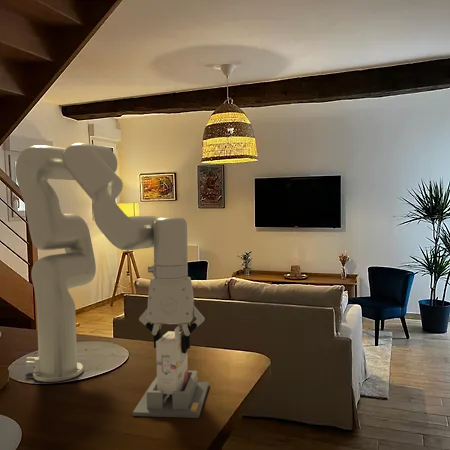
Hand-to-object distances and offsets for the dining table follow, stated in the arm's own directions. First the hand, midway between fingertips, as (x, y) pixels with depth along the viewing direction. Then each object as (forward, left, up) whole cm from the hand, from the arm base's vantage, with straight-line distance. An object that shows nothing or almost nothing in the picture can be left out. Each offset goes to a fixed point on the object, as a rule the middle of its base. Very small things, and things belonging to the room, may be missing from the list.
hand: (172, 350), depth 103 cm
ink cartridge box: (0, 0, -9) cm, 9 cm away
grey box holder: (0, 0, -11) cm, 11 cm away
